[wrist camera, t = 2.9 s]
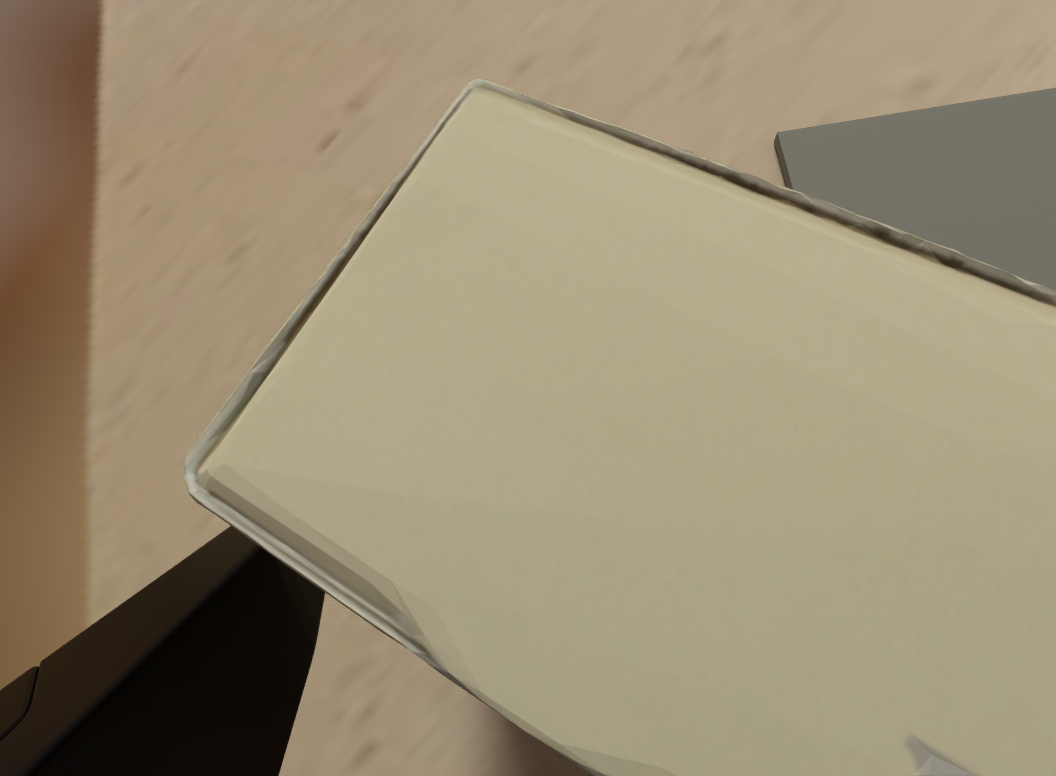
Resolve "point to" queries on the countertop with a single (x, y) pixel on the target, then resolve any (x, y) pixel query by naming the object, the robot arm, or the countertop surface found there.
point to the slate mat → (945, 176)
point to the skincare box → (667, 459)
